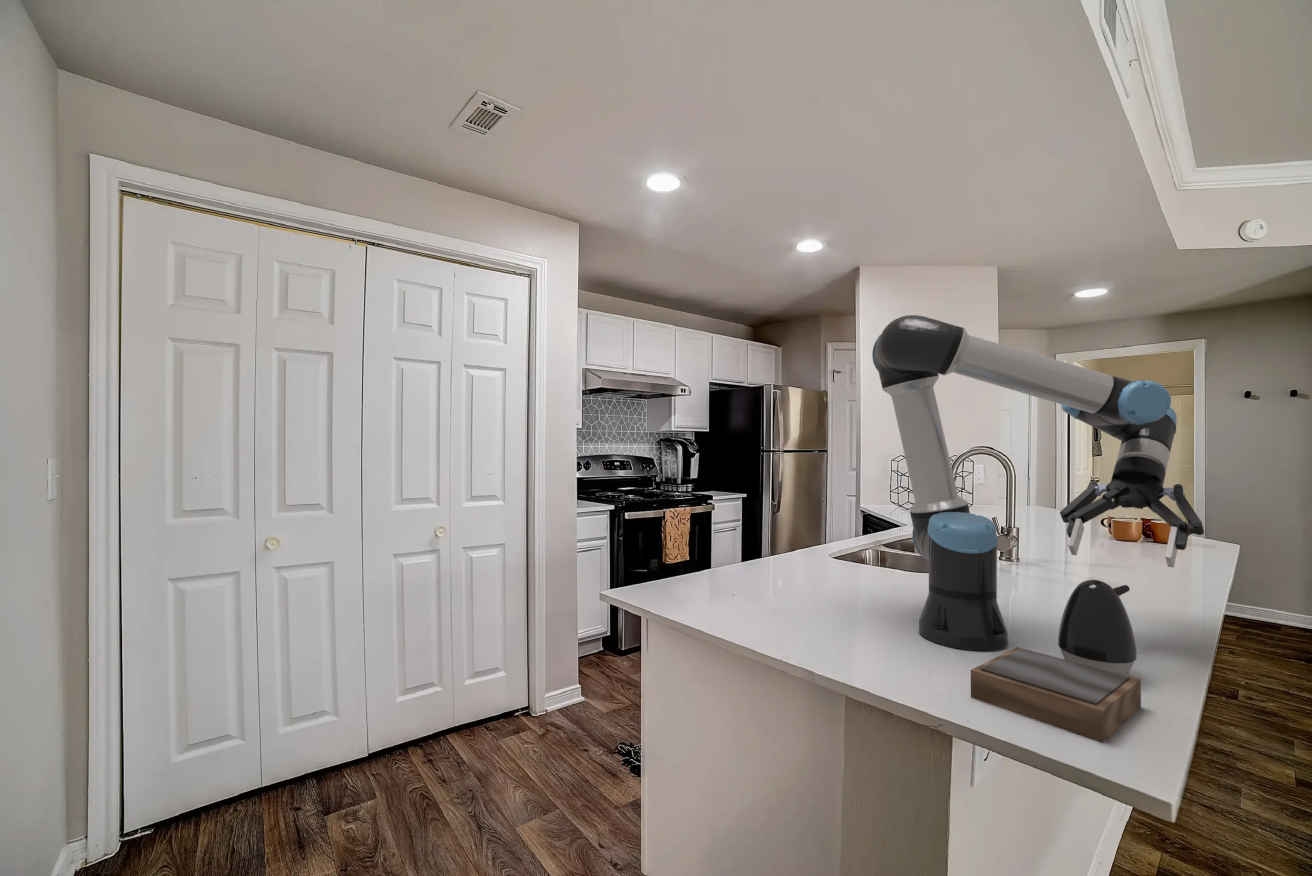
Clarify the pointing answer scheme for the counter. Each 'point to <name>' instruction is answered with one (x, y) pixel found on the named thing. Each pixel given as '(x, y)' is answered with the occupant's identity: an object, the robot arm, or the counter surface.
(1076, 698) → the walnut riser
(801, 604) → the counter surface
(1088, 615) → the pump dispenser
